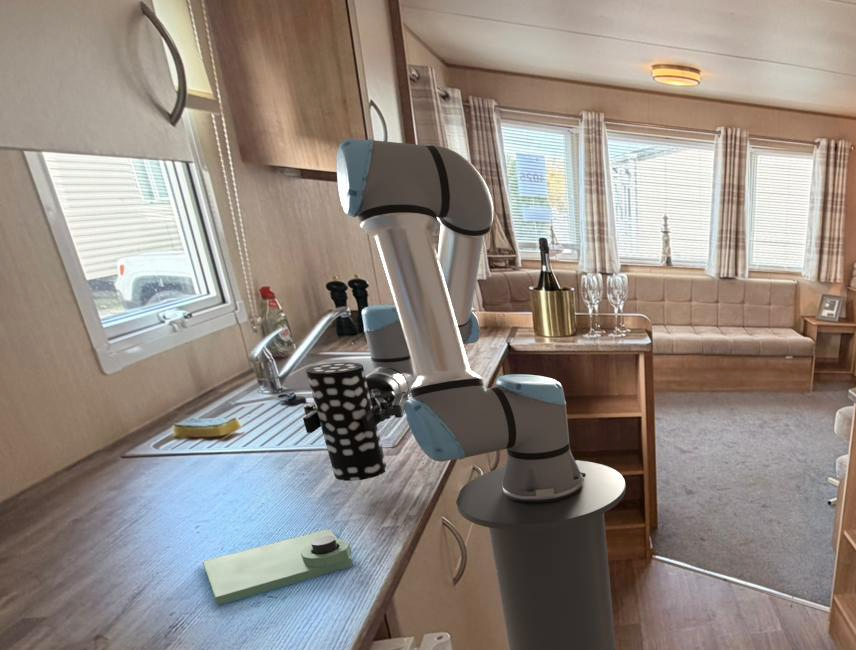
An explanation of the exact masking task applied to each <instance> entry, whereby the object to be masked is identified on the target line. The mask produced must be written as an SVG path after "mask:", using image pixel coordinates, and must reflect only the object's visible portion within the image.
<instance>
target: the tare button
mask: <svg viewBox="0 0 856 650" xmlns="http://www.w3.org/2000/svg"><path fill="white" fill-rule="evenodd" d="M335 537H336V536H335ZM335 537H333V536H323V537H319V538H316V539H314V540H313V541H312V542H311V545H312V548H313V552H314V554H317V555H319V554H326V553H330V552H333V551H335V550H337V549H338V546H337V543H336V539H335Z"/></svg>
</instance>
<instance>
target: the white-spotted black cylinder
mask: <svg viewBox="0 0 856 650" xmlns="http://www.w3.org/2000/svg"><path fill="white" fill-rule="evenodd" d="M305 373H306V376H307V380H308V384H309V388H310V390H311V395H312V399H313V402H315V406H316V410H317V413H318V417H319V421H320V424H321V431H322V434H323V439H324V442H325V446H326V449H327V453H328V457H329V460H330V461H329V462H330V464H331V468H332V471H333V476H334V478H335V479H337V480H339V481H345V482H355V481H364V480H368V479H373V478H376V477H378V476H381V475H383V474H384V473H386V472H387V471H388V467H387V462H386V459H385V454H384V450H383V445H382V441H381V437H380V432H379V429H378V424H377V425H376V426H375V427H374V428H373V429H372V430H370V431H365V428H364V424H363V419H362V416H363V415H364V414H365V413H367V412H368V411H369V410H370V409H372V408H373V407H372V403H371V398H370V394H369V390H368V386H367V381H366V374H365V369H364V366H363V364H362V363H360V362H359V363H358V362H330V363H323V364H321V363H320V364H316V365H312V366H310V367H307V368H306V369H305Z"/></svg>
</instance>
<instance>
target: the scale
mask: <svg viewBox="0 0 856 650" xmlns="http://www.w3.org/2000/svg"><path fill="white" fill-rule="evenodd" d="M323 536H333V537H335V539H336V543H337V546H338V549H337V550H335V551H333V552H330V553H326V554H319V555H317V554H314V552H313V548H312V545H311V542H312V541H313V540H314V539H316V538H319V537H323ZM352 554H353V552H352V548H351V544H350V542H349V541H348V540H345V539H339V538H337V536H335V534H334V533H333V531H332V530H331V529H330V528H328V529H323V530H320V531H317V532H316V531H315V532H312V533H308V534H305V535H300V536H296V537H292V538H289V539H285V540H281V541H277V542H273V543H268V544H265V545H261V546H257V547H254V548H250V549H246V550H241V551H238V552H233V553H231V554H225V555H222V556H218V557H215V558H210V559H206V560H203V561H202V565H203V568H204V570H205V573H206V576H207V579H208V583H209V585H210V588H211V590H212V593H213V596H214V599H215V601H216V604H217V606H219V607H220V606H223V605H227V604H229V603H233V602H237V601H240V600H243V599H247V598H250V597H253V596H256V595H259V594H264V593H267V592H271V591H274V590H277V589H280V588H284V587H287V586H290V585H294V584H297V583H301V582H304V581H308V580H311V579H315V578H317V577H321V576H324V575H327V574H328V575H329V574H331V573H335V572H338V571H341V570H342V571H343V570H344V569H348V568H352V567H354V561H353V558H352V556H351V555H352Z"/></svg>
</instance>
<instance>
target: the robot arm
mask: <svg viewBox="0 0 856 650" xmlns="http://www.w3.org/2000/svg"><path fill="white" fill-rule="evenodd" d="M336 180H337V188H338V194H339V200H340V204H341V207H342V208H343V211H344V213H345V214H346V215H347V216H348V217H349V216H350V217H352V218H358V221H359V225H360V227H361V230H362V231H363V232H365V233H366V234H368V235H369V236H371V237H373V239H375V242H376V245H377V248H378V252H379V256H380V259H381V262H382V266H383V269H384V272H385V275H386V279H387V282H388V286H389V289H390V293H391V296H392V299H393V303H394V304H384V305H383V304H377V305H369V306H366V307H363V309H362V310H361V320H362V324H363V332H364V334H365V338H366V341H367V342H366V343H367V346H368V350H369V354H370V360H371V366H372V369H373V371H372V372H370V373H368V374H367V375H365V377H366V381H367V386H368V390H369V394H370V398H371V403H372V407H373V408H372V409H370V410H369V411H368V412H367V413H365V414H364V415H363V416H362V419H363V424H364V428H365V431H370V430H372V429H373V428H374V427H375V426H376V425H377V426H378V425H379V424H380V423H382V422H384V421H386V420H389V419H391V417H394V418H397V419H400V418H403V415H404V413H405V417H406V422H407V424H408V427H409V429H410V431H411V434H412V435H413V437H414V439H415V441H416V443H417V445H418V446H419V448H420V449H421V451H422V452H423V453H424V454H425V455H426V456H427V457H428V458H430V460H433V461H435V462H448V461H454V460H459V461H460V460H464V459H466V458H470V457H475V456H479V455H485V454H489V453H493V452H498V451H504V450H506V452H507V460H506V464H505V467H506V469H505V473H504V478H503V484H502V487H503V494H504V496H505V497H506V498H507V499H509V500H511V501H514V502H518V503H524V504H544V503H552V502H557V501H561V500H564V499H567V498H570V497H572V496H574V495H576V494H577V493H579V492H580V491H581V490H582V488H583V477H585V476H586V473H583V472H580V470H579V468H578V466H577V464H576V462H575V460H576V459H575V458H574V456H573V453H572V451H571V443H570V433H569V425H568V413H567V402H566V397H565V391H564V388H563V385H562V384H561V382H559V381H557V380H556V379H554V378H551V377H547V376H543V375H535V374H520V373H519V374H518V373H516V374H513V373H512V374H504V375H500V376H498V377H497V378H496V382H495V385H496V386H492V387H486V386H485V383H484V380H483V377H482V376H480V375H478V374H477V373H475V372H474V371H473V370H471V368H470V367H471V366H470V364H469V360H468V357H467V354H466V350H465V347H464V345H467V344H468V345H469V344H475V343H477V342H478V341H479V340H480V337H481V330H480V329H481V327H480V322H479V319H478V317H477V315H476V314H475V312H474V311H472V310H473V309H472V308H473V304H474V303H473V302H474V296H475V292H476V285H477V280H478V273H479V267H480V262H481V257H482V256H481V255H482V250H483V249H482V248H483V244H484V239H485V236H486V235H488V234H489V233H490V232H491V230H492V227H493V220H494V204H493V203H494V202H493V199H492V195H491V192H490V189H489V187H488V185H487V183H486V181H485V179H484V178H483V176H482V174H480V172H479V171H478V170H477V168H476V167H475V166H474V165H473V164H472V163H471V162H470V161H469V160H468V159H466V158H465V157H463V155H461V154H460V153H459V152H456V151H454V150H452V149H450V148H447V147H444V146H440V145H431V144H430V145H424V144H415V143H407V142H406V143H405V142H396V141H395V142H394V141H386V140H385V141H384V140H383V141H382V140H376V139H375V140H374V139H373V138H368V139H355V138H354V139H353V138H352V139H351V138H348V139H344V140H343V141H341V142H340V144H339V146H338V149H337V154H336ZM439 223H440V225H439ZM438 227H439V236H438V237H439V238H438V247H436V245H435V241H434V238H433V234H434V233H435V231H436V230H437V228H438ZM437 249H438V250H437ZM410 394H411V396H412V397H409V395H410ZM303 410H304V415H305V416H304V417H302V421H303V424H304V427H305V431H306V434H313V433H314V432H315V431H316V430H318V429H319V428H320V427H321V424H320V421H319V417H318V413H317V410H316V406H315V402H314V401H313V402H311V403H309V404H306V405H304V406H303Z"/></svg>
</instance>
